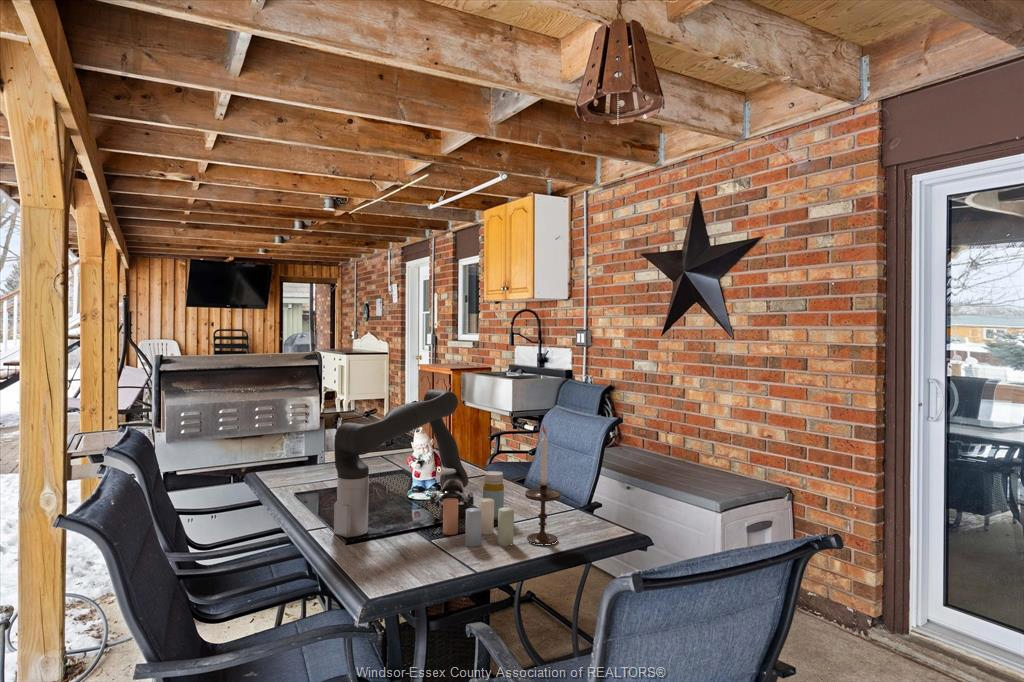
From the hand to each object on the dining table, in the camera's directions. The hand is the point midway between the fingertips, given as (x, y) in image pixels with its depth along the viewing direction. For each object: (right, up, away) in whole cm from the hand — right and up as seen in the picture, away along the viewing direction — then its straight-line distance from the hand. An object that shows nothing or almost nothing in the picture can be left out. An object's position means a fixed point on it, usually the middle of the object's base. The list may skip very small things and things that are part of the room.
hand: (451, 504), depth 199 cm
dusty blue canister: (+8, -7, -19) cm, 21 cm away
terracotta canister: (+1, -6, -9) cm, 11 cm away
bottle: (+13, -6, +7) cm, 16 cm away
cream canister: (+11, -6, -8) cm, 15 cm away
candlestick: (+29, -7, -15) cm, 33 cm away
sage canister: (+18, -7, -18) cm, 26 cm away
